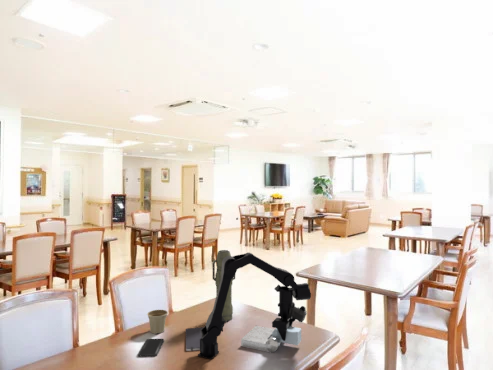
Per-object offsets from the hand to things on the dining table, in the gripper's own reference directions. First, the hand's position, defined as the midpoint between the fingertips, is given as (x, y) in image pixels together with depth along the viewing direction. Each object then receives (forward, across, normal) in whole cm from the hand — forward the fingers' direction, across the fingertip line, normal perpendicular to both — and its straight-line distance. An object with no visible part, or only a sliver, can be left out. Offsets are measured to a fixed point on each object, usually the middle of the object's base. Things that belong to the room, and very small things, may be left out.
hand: (286, 337), depth 145 cm
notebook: (+4, -9, +37) cm, 39 cm away
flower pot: (+4, -10, +60) cm, 61 cm away
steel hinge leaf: (+3, 0, +9) cm, 10 cm away
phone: (+4, -25, +51) cm, 57 cm away
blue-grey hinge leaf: (+1, 0, 0) cm, 1 cm away
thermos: (+4, +17, +39) cm, 43 cm away
